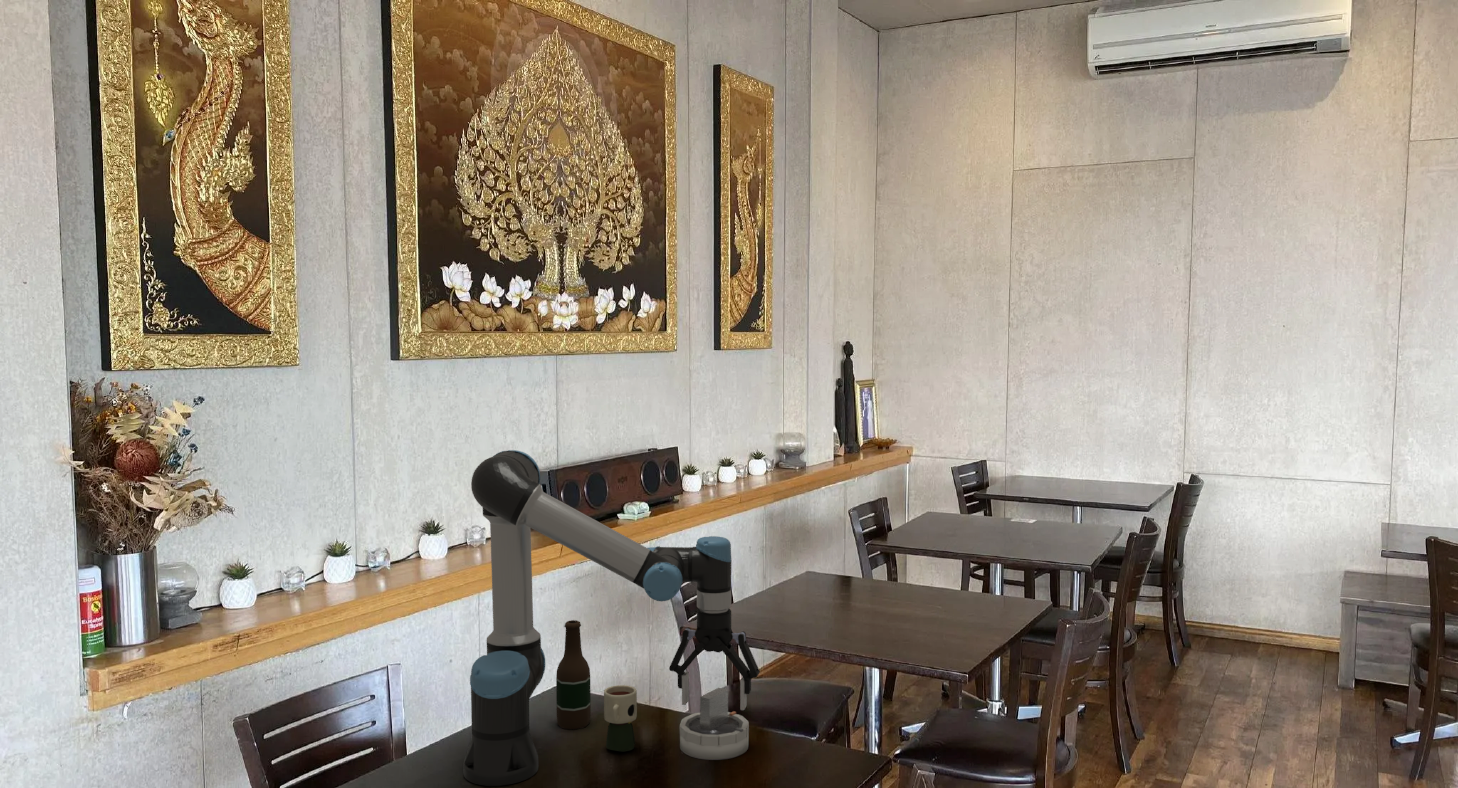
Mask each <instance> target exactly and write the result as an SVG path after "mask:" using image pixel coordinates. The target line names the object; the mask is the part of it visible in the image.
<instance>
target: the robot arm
mask: <svg viewBox="0 0 1458 788" xmlns="http://www.w3.org/2000/svg"><path fill="white" fill-rule="evenodd" d="M540 482H541V472H540V467H539V465H538V463H537V462H536V461H535V459H534V458H533V457H532V456H530V455H529V454H527V453H526V452H524V451H521V450H514V449H512V450H510V449H508V450H502V451H499V452H497V453H496V454H494V455H493V456H491V457H489V458H486V459H484V460H483V461H482V462H481V463H480V464H479V465H478V466H477V467H476V468H475V470H474V471H473V473H472V476H471V482H470V483H471V493H472V495H473V497H474V499H475V501H476V502H477V503H478V505H479V506H481V507H482V508H481V509H482V516H483V517H484V518H485V519H486V520H488V522H489V525H490V526H489V527H490V531H489V532H490V559H491V561H490V563H491V591H492V593H491V594H492V597H491V598H492V626H493V627H492V629H493V630H492V632H491V633H490V634H489V635H488V636H487V637H486V655H482V656H480V657H478V658H477V659H476V660H475V661H474V662H473V663H472V666H471V670H470V675H469V681H470V682H469V684H470V700H471V702H470V704H471V705H470V706H471V707H470V708H471V709H470V710H471V711H470V712H471V713H470V714H471V738H470V741H469V744H468V748H467V751H466V754H465V757H464V760H463V765H462V767H463V777H464V778H465V780H466V781H468V782H470V783H472V784H475V785H479V786H484V787H501V786H508V785H512V784H518V783H520V782H523V781H526V780H528V779H530V778H532V777H533V776H534V775H535V774H537V772H538V771H539V754H538V752H537V749H536V746H535V743H534V741H533V737H532V735H531V732H530V731H531V730H530V699H531V697H532V695H533V693H534V692H535V690H536V689H537V687H538V686H539V684H540V683H541V682H542V680H543V678H544V674H545V670H546V656H545V653H544V649H542V641H541V639H542V638H541V637H542V636H541V633H540V632H539V631H538V630H537V629H535V627H534V611H533V610H534V608H533V605H534V604H533V569H532V568H533V565H532V564H533V563H532V538H531V537H532V534H531V531H532V530H534V531H535V532H538V533H539V534H541V535H543V536H545V537H547V538H549V539H551V540H553V541H555V542H556V543H558V544H560V545H562V546H564V547H566V548H568V549H569V550H572V551H573V552H575V553H577V554H579V555H581V556H583V557H584V558H586V559H588V560H590V561H592V562H594V563H595V564H597V565H599V566H601V567H603V568H606V569H607V570H608V571H611V572H612V573H615V574H616V575H617V576H618V575H619V577H621V578H624V579H625V580H628V581H629V582H631V583H633V584H634V585H636V586H638V587H640V588H642V589H643V590H644V592H645V594H646V595H647V596H648V597H649V598H651V599H652V600H653V601H656V602H667V601H670V600H671V599H673V598H674V597H676V595H677V594H678V593H679V592H680V590H681V588H682V585H683V583H696V607H697V608H698V609H697V610H696V630H695V629H691V628H690V627H686V628H685V629H683V631H682V635H681V642H680V644H679V646H678V648H677V649H676V650H677V651H676V652H675V654H674V657H673V659H672V661H671V662H670V666H669V668H668V669H669V671H671V672H674V673H676V674H677V687H678V689H681V705H683V706H686V705H687V704H688V703H689V700H690V696H689V695H690V694H689V692H690V688H689V685H690V681H689V680H690V678H689V675H690V674H689V672H690V671H686V670H687V668H688V667H689V666H690V665H691V664H692V663H693V662H694V660H695V659H696V658H697V656H699V654H700V653H701V651H703V650H704V651H705V652H707V653H709V652H710V653H711V652H715V653H721V652H723V654H724V655H725V656H726V657H728V659H729V660H730V662H731V663H732V665H733V666H734V667H735V669H736V670H737V671H738V673H739V674H740V675H741V677H742V678H741V679H740V681H739V682H740V687H739V688H740V690H739V691H740V696H739V697H740V699H739V700H740V702H739V703H740V707H739V708H740V711H744V710H746V707H747V704H748V703H747V700H748V699H747V697H748V696H747V695H750V693H751V691H752V679H753V678H754V679H756V678H758V676H759V674H760V668H759V667H758V664H757V662H756V659H755V658H754V655H753V653H752V651H751V649H750V647H749V644H748V642H747V633H746V631H744V630H743V631H741V632H733V630H732V610H731V609H730V608H731V607H732V545H731V542H730V540H729V539H728V538H726V537H723V536H715V535H714V536H712V535H711V536H702V537H699V538H698V539H697V540H696V544H695V546H690V547H687V546H685V547H684V546H681V547H679V546H677V547H676V546H673V547H672V546H660V545H659V546H658V545H657V546H654V547H653V546H652V547H646V546H644V545H642V544H641V543H638V542H637V541H635V540H633V539H631V538H630V537H628V536H625V535H624V534H622V533H620V532H618V531H616V530H615V529H613V528H611V527H609V526H608V525H605V524H603V523H601V522H599V521H598V520H596V519H594V518H592V517H590V516H588V515H587V514H585V513H584V512H581V511H579V510H578V509H576V508H574V507H572V506H570V505H569V504H566V503H565V502H563V501H561V500H559V499H557V498H556V497H553V496H551V495H550V494H548V493H546V492H544V490H543V487H542V485H541V484H540ZM531 529H532V530H531ZM694 637H695V639H696V640H697V642H698V643H699V644H698V645H696V647H695V648H694V650H693V651H692V652H691V654H690V655H689V656H688V657H687V658H686V660H685V661H684V662H683V663H682V664H681V665H679V664H680V662H681V659H682V657H683V656H684V653H685V650H686V649H687V647H688V644H689V642H690V641H691V640H692V639H693V638H694ZM733 640H734V641H735V643H737V644H738V648H739V649H740V652H741V655H742V657H743V659H744V661H745V662H744V661H743V660H742V658H741V657H740V655H739V654H738V653H737V651H736V650H735V647H734V646H733V645H732V643H731V641H733ZM745 663H746V664H745Z"/></svg>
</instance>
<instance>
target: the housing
mask: <svg viewBox="0 0 1458 788" xmlns="http://www.w3.org/2000/svg"><path fill="white" fill-rule="evenodd" d="M728 716H729V717H730V718H733V719H735V720H737V721H738V722H739V728H738V727H737V728H735V730H736V731H734V732H732V733H726V734H720V735H713V734H701V733H697V732H694V731H691V730H690V729H689V723H690V722H691V721H692V720H694V719H696V718H699V717H700V712H695V713H692V714H690V715H687V716H685V717H683V718H682V719H681V721H680V724H679V748H680V750H681V752H683V754H685V755H687V756H688V757H692V758H695V759H700V760H707V761H709V760H710V761H721V760H728V759H733V758H736V757H739V756H741V755H744V754H745V753H746V752H747V750H748V749H749V736H750V735H749V733H750V728H749V727H750V723H749V720H747V719H746V718H745V717H744V716H743V715H741V714H737V711H734V710H733V711H732V712H730V711H728Z"/></svg>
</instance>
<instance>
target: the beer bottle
mask: <svg viewBox="0 0 1458 788" xmlns="http://www.w3.org/2000/svg"><path fill="white" fill-rule="evenodd" d="M581 626H582V624H581V622H580V621H579V620H576V619H573V620H572V619H571V620H567V621H566V622H565V623H564V626H563V627H564V628H565V637H564V639H565V640H564V652H563V657H562V658H561V660H560V662H559V663H558V666H557V669H556V677H555V682H556V683H555V684H556V686H555V687H556V689H555V691H556V693H555V694H556V724H557V725H558V726H559V727H560V728H561V729H563V730H564V729H565V730H572V729H573V730H579V729H583V728H586V727H588V725H589V724H590V723H591V716H592V715H591V714H592V713H591V712H592V710H591V702H592V700H591V699H592V698H591V671H590V670H591V669H590V666H589V664H588V661H587V660H586V658H585V657H584V655H583V650H582V639H581Z"/></svg>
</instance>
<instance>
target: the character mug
mask: <svg viewBox="0 0 1458 788" xmlns="http://www.w3.org/2000/svg"><path fill="white" fill-rule="evenodd" d="M637 694H638V692H637V688H636V687H634V686H631V685H625V684H624V685H623V684H618V685H611V686H608V687H606V688H605V689H604V690H603V718H604V719H603V720H604V721H606V722H607V723H609V724H608V725H607V733H606V744H605V745H606V746H605V747H606V749H607V750H611V751H615V752H618V753H619V752H624V753H625V752H629V751H632V750H633V749H635V745H636V740H635V733H634V732H635V731H634V726H633V723H632V722H633V721H635V720H636V719H637V716H638V713H637V711H638V705H637V703H638V701H637V700H638V699H637V698H638V697H637Z"/></svg>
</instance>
